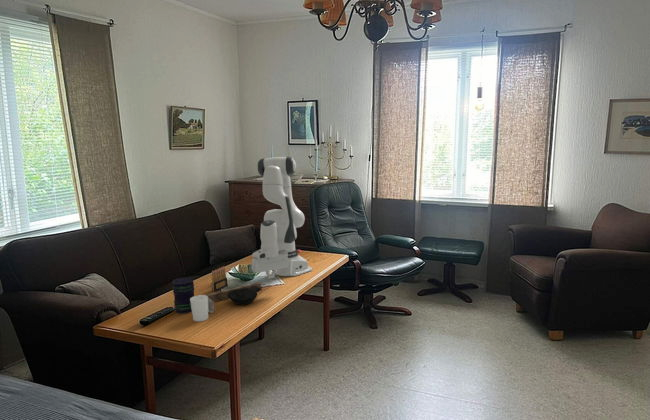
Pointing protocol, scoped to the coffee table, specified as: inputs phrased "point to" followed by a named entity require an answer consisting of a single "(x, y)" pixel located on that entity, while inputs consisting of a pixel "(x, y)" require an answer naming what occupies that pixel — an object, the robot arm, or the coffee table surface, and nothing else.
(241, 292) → the oil lamp
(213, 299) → the bracket
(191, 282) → the storage jar
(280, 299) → the coffee table surface
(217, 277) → the ammunition clip
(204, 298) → the white cup
